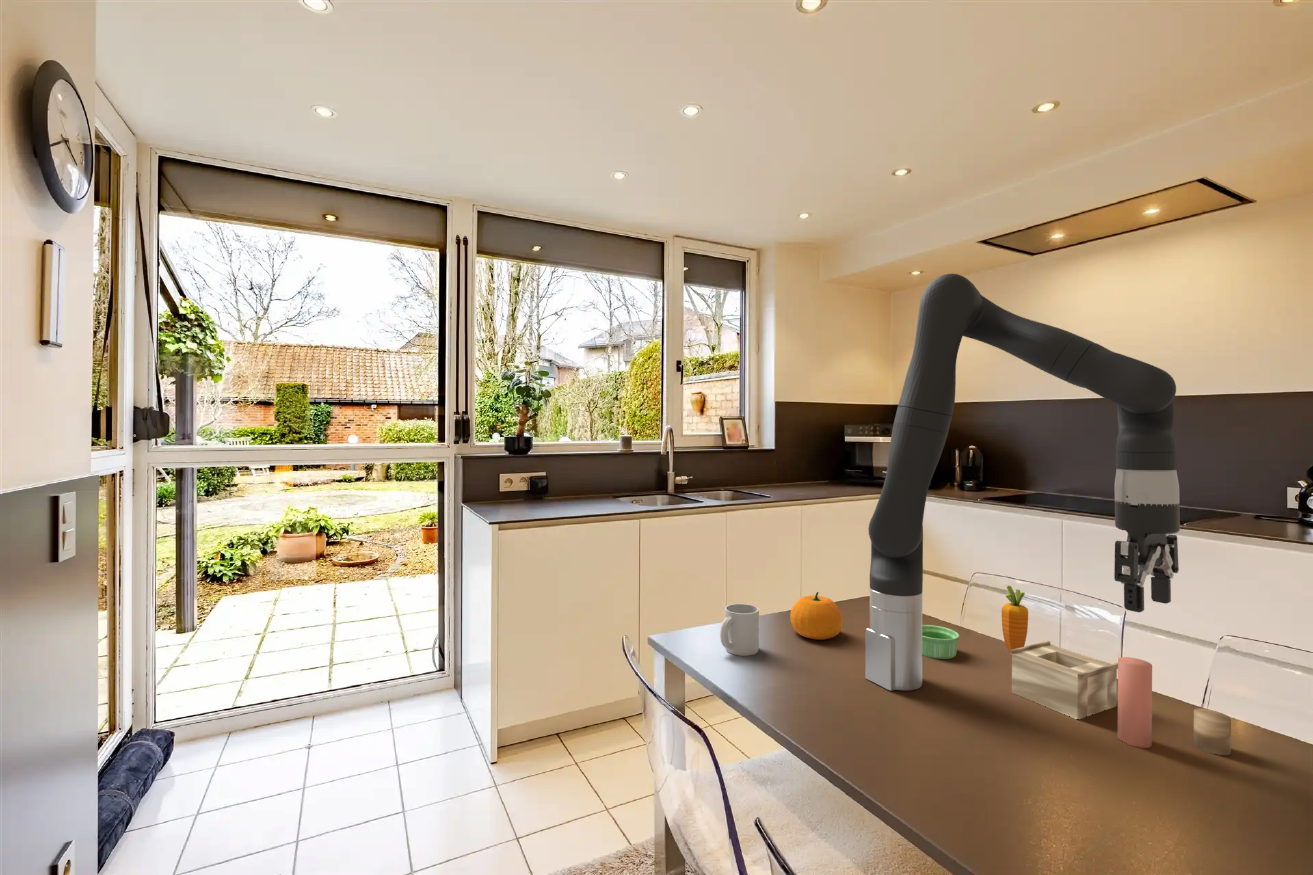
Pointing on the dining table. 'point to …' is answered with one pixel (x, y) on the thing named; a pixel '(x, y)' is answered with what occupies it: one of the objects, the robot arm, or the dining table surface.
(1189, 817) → the dining table surface
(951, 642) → the ramekin
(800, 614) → the fruit
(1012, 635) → the carrot
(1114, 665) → the hole block
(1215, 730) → the short dowel
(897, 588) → the robot arm
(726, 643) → the cup
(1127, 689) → the long dowel
